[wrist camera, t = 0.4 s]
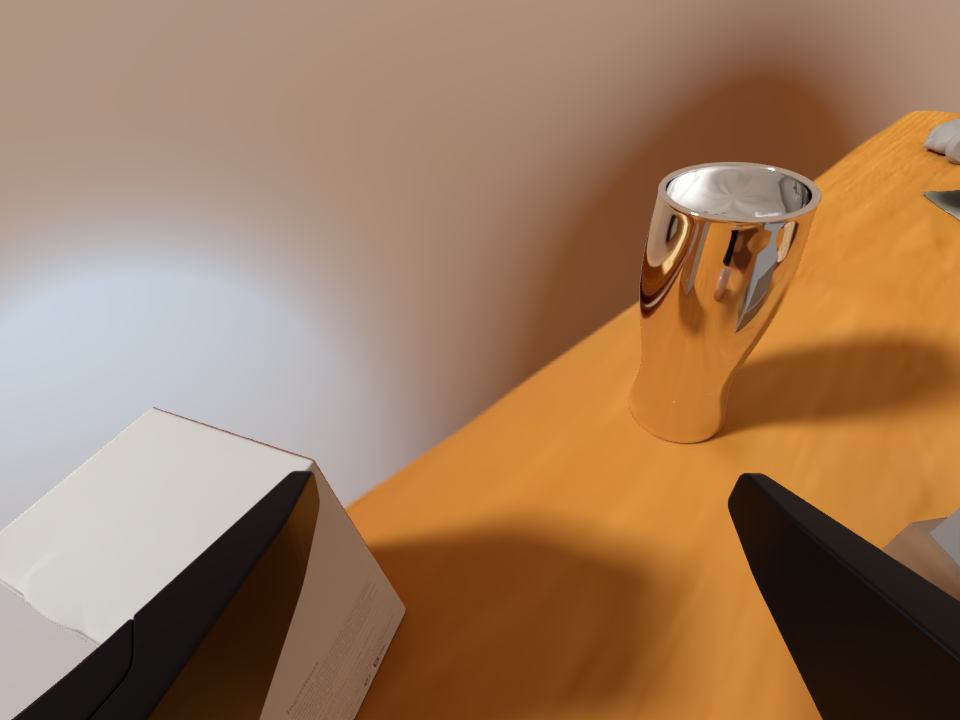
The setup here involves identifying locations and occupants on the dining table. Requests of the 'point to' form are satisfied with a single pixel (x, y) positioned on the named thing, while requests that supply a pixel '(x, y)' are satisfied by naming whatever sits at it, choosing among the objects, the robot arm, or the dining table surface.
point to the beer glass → (713, 287)
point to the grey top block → (949, 535)
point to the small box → (184, 536)
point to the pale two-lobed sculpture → (946, 140)
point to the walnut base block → (926, 556)
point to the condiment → (946, 201)
